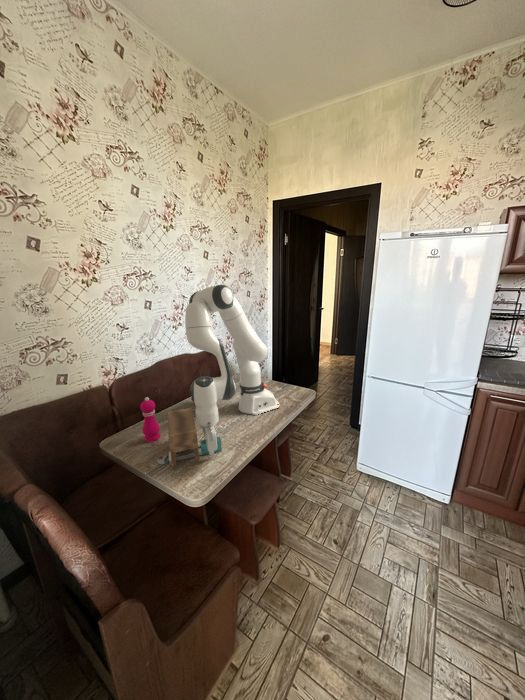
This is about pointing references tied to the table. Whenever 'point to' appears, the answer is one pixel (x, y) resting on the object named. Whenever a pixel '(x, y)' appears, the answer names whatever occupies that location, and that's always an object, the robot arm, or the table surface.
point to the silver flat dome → (163, 460)
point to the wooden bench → (182, 433)
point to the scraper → (202, 450)
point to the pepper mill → (150, 421)
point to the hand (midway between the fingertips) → (209, 447)
